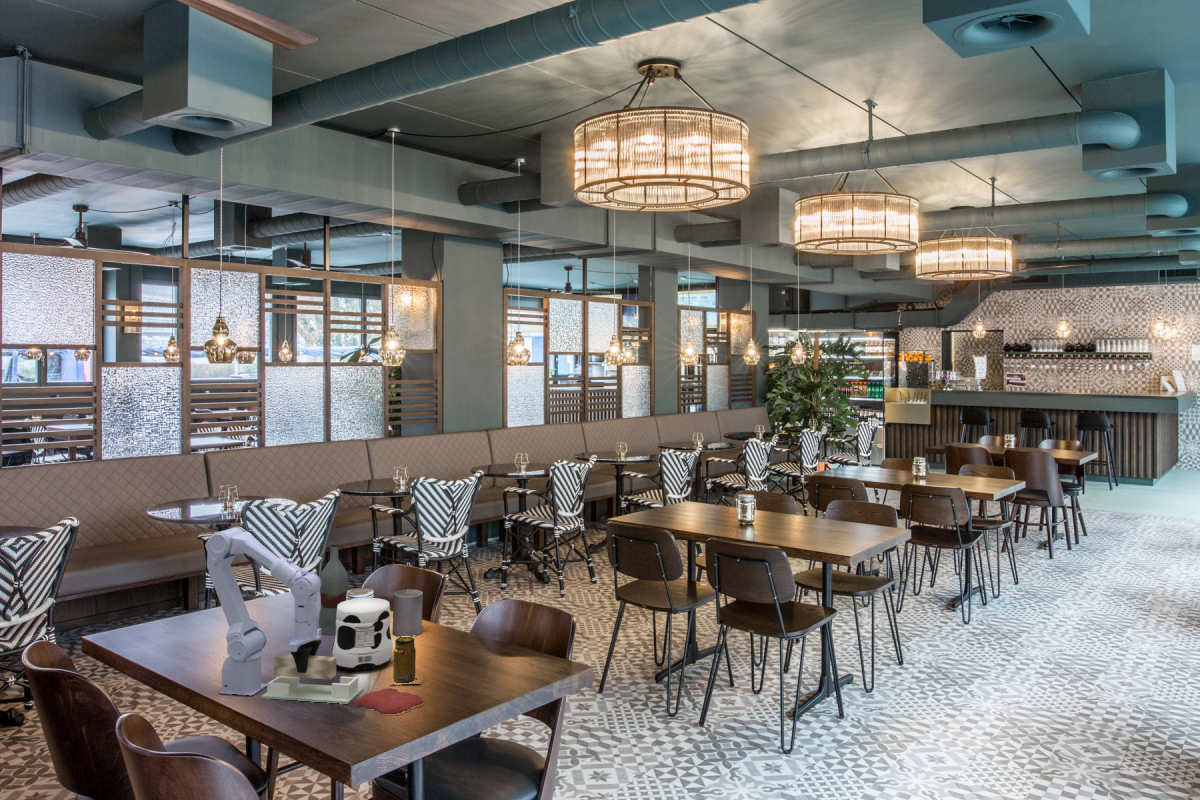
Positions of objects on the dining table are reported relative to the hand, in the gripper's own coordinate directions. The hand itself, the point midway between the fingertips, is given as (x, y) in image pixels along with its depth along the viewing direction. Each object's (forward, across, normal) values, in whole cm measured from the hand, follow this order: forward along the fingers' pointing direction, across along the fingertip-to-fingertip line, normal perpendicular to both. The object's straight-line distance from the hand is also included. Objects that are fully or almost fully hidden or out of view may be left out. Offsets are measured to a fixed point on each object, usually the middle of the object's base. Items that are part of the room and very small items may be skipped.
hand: (305, 670), depth 214 cm
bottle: (+7, +54, +18) cm, 57 cm away
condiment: (+7, +14, -23) cm, 28 cm away
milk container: (+7, +25, -5) cm, 26 cm away
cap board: (+6, 0, -2) cm, 7 cm away
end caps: (+6, 0, -2) cm, 7 cm away
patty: (+7, -2, -24) cm, 26 cm away
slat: (+2, 0, 0) cm, 2 cm away
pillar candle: (+7, +57, -7) cm, 58 cm away
